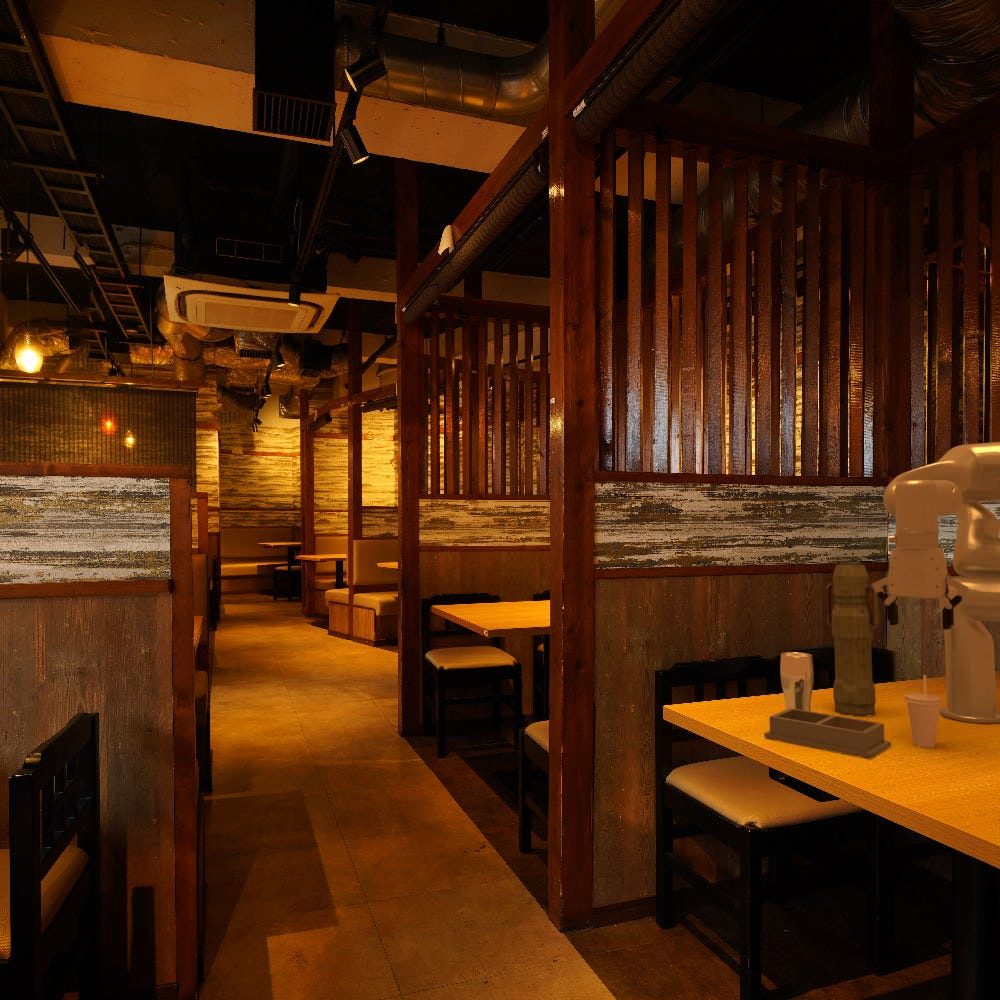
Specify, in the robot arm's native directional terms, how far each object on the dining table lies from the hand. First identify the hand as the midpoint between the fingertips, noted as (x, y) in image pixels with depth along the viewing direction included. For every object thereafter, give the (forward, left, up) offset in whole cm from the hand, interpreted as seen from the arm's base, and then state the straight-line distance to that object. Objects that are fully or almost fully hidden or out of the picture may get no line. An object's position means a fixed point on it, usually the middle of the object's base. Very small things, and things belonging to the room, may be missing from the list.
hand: (919, 626), depth 150 cm
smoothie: (0, 0, -24) cm, 24 cm away
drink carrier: (+11, -15, -24) cm, 30 cm away
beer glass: (-1, -26, -24) cm, 35 cm away
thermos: (-18, -20, -24) cm, 36 cm away
